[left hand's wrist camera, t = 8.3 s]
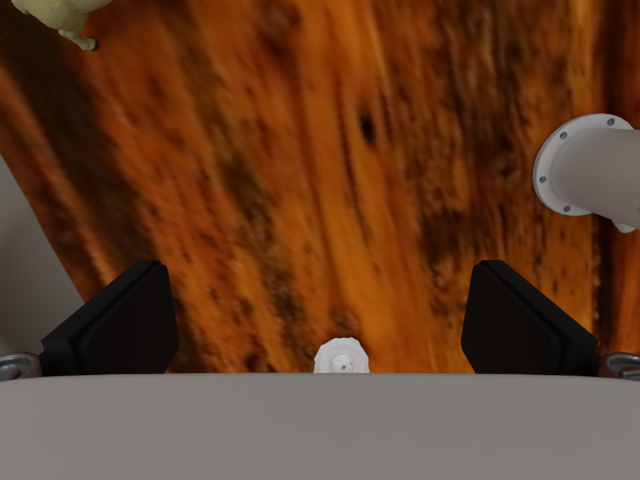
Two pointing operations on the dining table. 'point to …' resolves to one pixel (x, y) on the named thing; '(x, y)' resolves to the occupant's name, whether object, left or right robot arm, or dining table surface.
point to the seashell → (341, 357)
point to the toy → (64, 16)
